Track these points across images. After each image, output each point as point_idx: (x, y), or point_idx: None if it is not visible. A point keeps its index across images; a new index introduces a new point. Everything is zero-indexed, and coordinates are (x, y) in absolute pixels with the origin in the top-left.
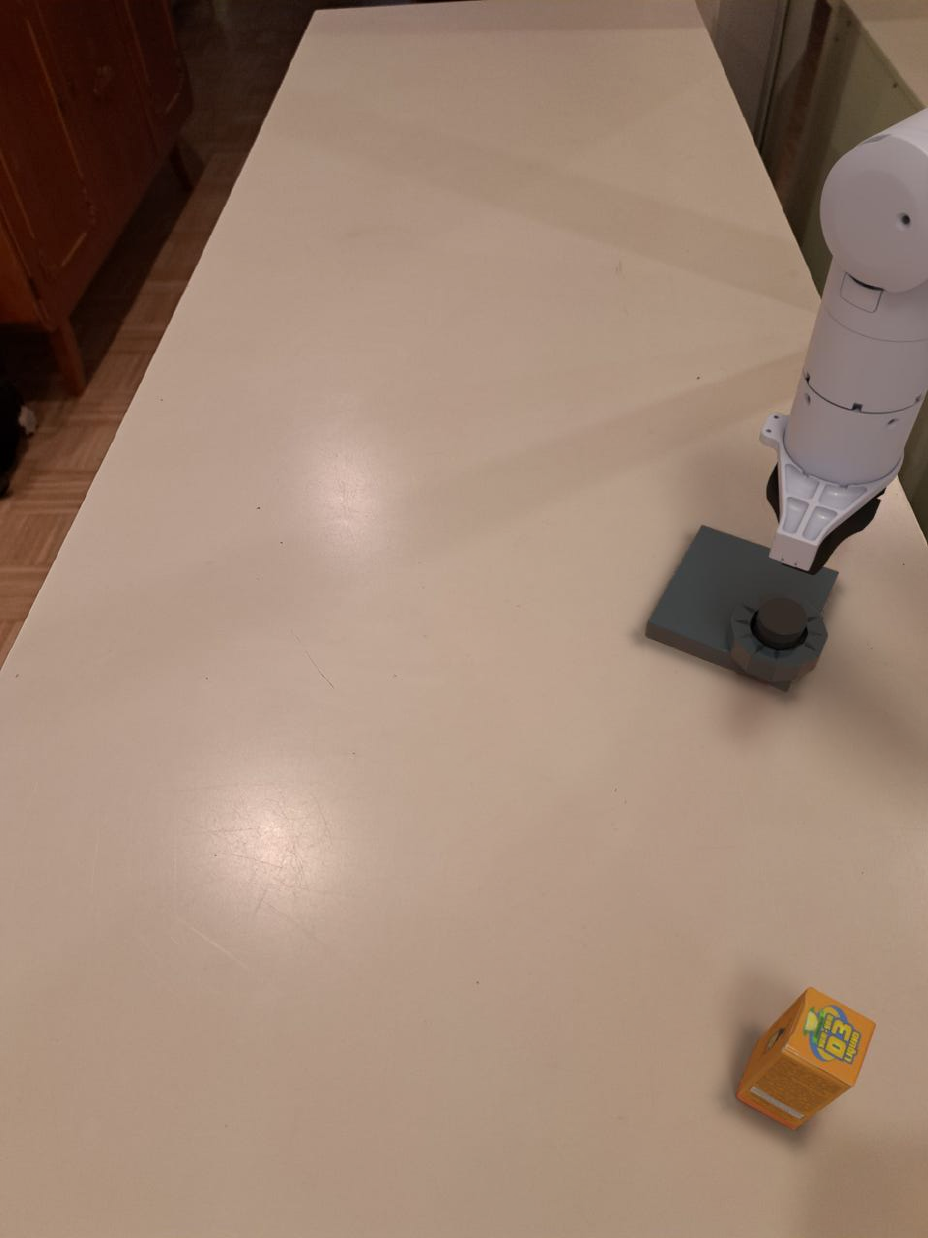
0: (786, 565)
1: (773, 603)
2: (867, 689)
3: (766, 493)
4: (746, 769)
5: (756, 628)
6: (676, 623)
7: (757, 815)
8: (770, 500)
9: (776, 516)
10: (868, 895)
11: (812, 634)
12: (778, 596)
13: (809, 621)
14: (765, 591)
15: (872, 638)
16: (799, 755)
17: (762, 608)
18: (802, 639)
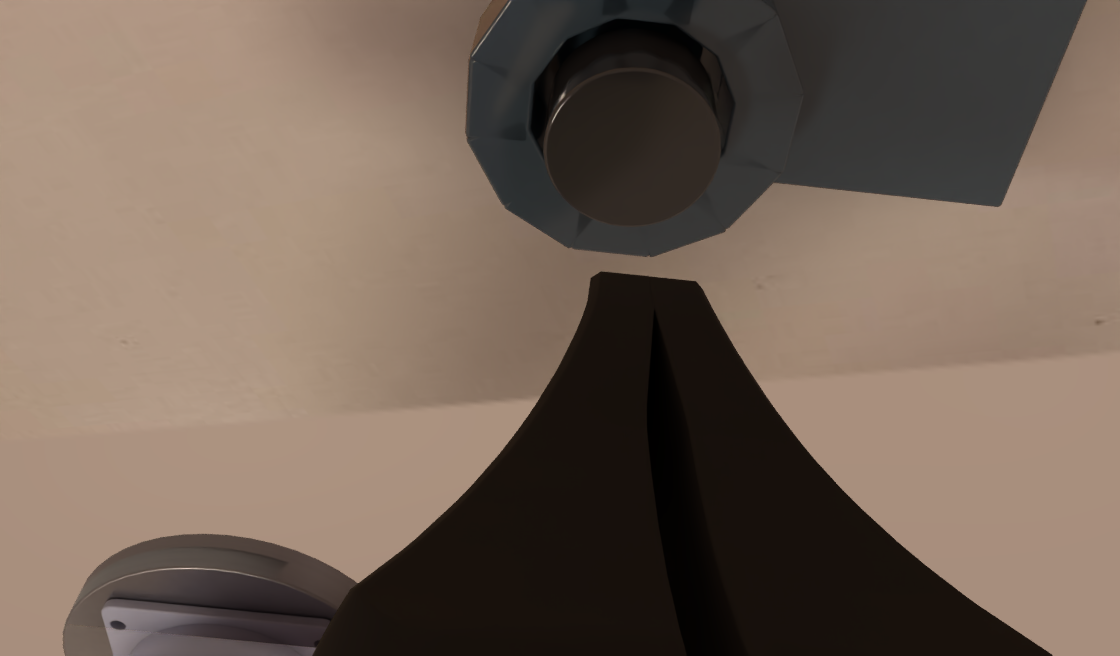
0: (588, 295)
1: (675, 111)
2: None
3: (361, 615)
4: (219, 65)
5: (591, 51)
6: None
7: (107, 120)
8: (331, 622)
9: (481, 480)
10: (84, 357)
11: None
12: (777, 88)
13: None
14: (864, 2)
15: (796, 285)
16: (338, 181)
17: (637, 79)
18: None
